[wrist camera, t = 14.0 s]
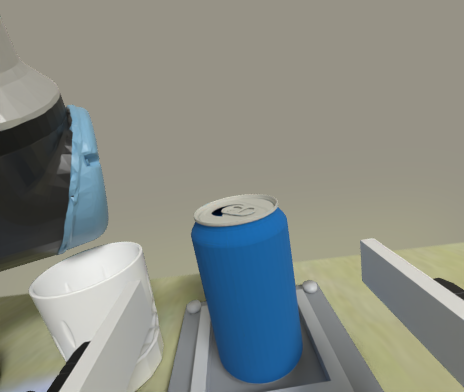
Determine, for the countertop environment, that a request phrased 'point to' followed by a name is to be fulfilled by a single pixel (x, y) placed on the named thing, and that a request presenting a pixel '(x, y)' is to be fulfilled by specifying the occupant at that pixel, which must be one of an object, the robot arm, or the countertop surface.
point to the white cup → (96, 300)
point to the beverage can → (249, 286)
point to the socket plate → (300, 378)
